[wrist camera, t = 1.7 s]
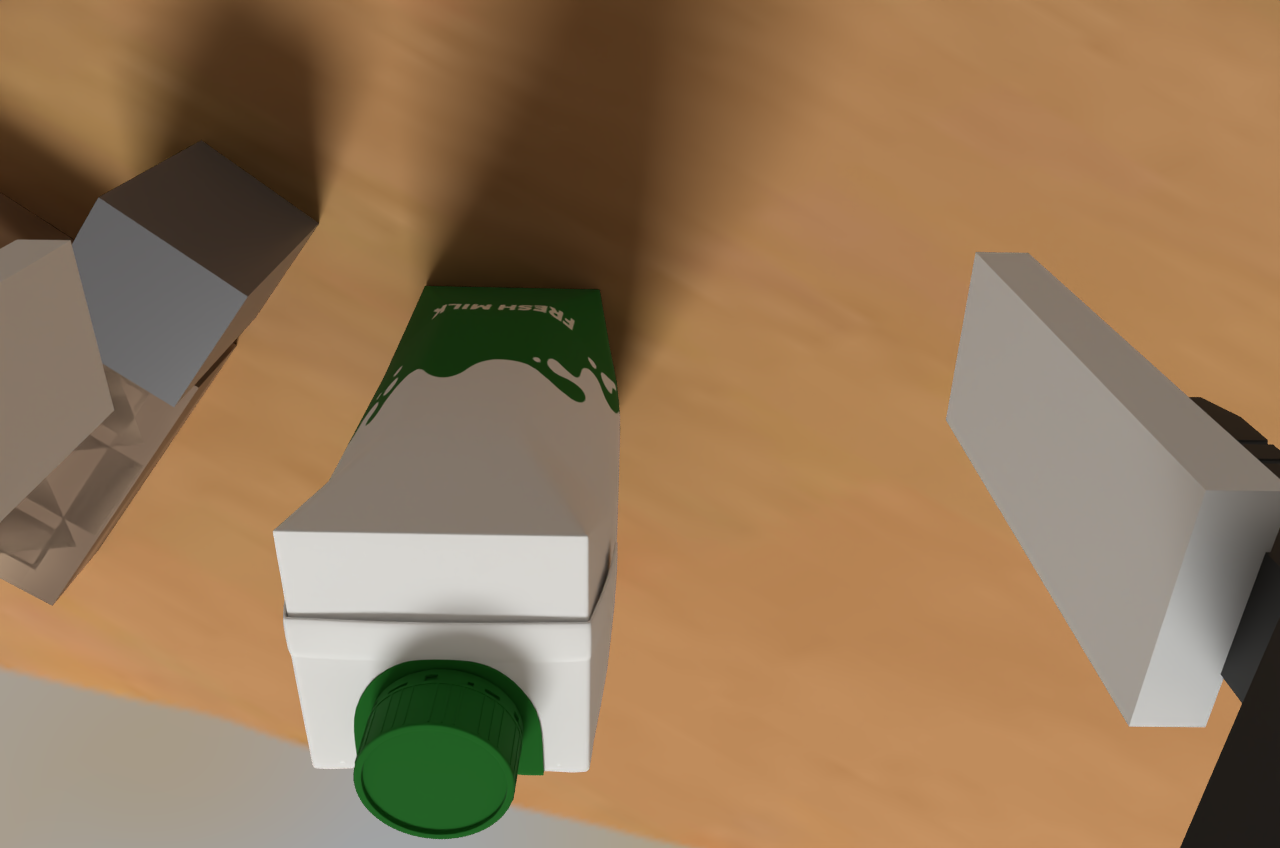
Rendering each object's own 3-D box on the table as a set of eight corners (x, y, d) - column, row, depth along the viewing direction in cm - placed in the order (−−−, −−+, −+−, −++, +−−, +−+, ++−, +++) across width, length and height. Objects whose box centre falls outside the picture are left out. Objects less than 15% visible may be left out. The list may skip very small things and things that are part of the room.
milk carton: (418, 460, 43) (268, 848, 26) (399, 258, 39) (204, 557, 21) (620, 463, 43) (611, 852, 26) (624, 263, 39) (615, 564, 21)
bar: (140, 242, 39) (29, 318, 32) (201, 140, 37) (98, 197, 30) (255, 317, 40) (174, 407, 33) (319, 223, 38) (247, 296, 31)
